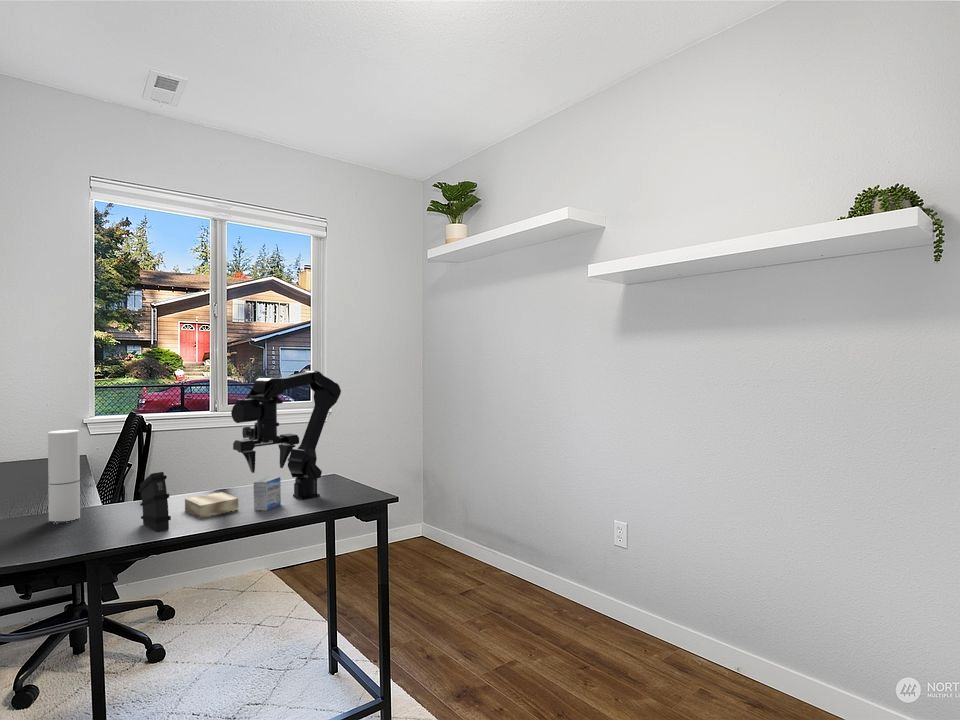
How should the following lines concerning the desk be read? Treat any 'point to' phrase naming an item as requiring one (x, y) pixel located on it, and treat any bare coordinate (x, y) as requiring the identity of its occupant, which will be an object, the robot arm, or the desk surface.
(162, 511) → the magazine
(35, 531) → the desk surface
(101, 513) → the desk surface
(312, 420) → the robot arm
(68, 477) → the cylindrical container
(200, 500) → the maple block
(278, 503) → the medicine box
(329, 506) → the desk surface
